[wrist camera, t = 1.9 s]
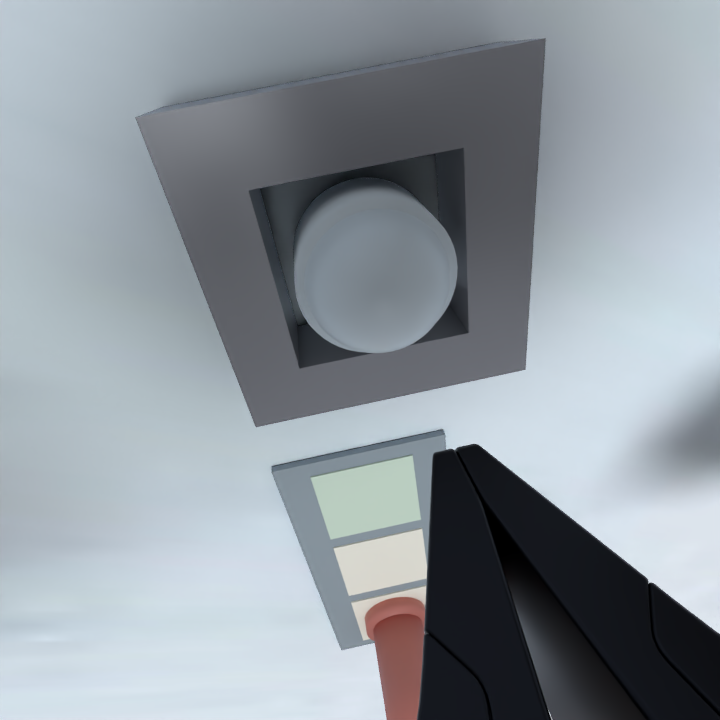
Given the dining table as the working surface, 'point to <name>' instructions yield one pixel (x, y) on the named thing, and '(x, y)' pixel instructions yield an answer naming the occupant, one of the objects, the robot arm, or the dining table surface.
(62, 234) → the dining table surface
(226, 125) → the button box
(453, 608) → the robot arm
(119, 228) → the dining table surface
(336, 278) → the dome
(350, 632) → the track board
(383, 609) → the pawn
